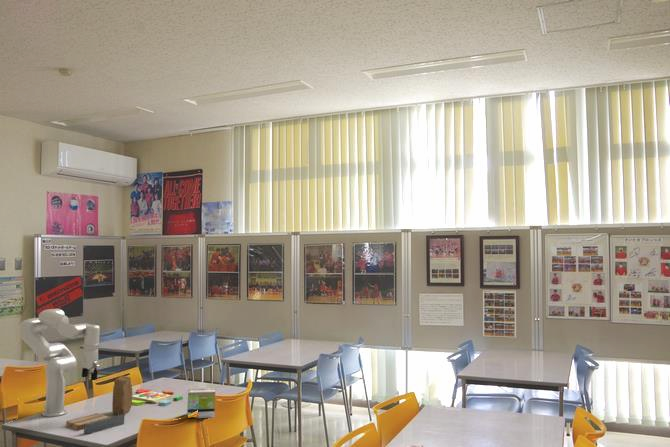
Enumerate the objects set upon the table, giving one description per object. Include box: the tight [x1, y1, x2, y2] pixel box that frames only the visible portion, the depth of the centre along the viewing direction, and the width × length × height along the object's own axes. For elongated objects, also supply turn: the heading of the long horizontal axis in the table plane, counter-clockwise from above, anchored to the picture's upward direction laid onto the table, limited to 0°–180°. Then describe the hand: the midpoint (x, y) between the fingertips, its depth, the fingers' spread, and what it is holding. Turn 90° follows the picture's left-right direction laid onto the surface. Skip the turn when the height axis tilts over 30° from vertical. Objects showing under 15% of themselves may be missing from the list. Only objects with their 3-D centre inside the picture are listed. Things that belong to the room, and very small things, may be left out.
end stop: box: [83, 413, 126, 435], centre depth 284 cm, size 2×22×5 cm, turn 148°
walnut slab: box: [65, 413, 109, 431], centre depth 291 cm, size 12×18×3 cm, turn 147°
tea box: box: [186, 387, 216, 419], centre depth 310 cm, size 15×10×15 cm
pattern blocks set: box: [132, 388, 184, 407], centre depth 345 cm, size 38×34×3 cm
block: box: [112, 376, 133, 415], centre depth 314 cm, size 11×8×20 cm
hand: (89, 378), depth 302 cm, fingers open, 9 cm apart
